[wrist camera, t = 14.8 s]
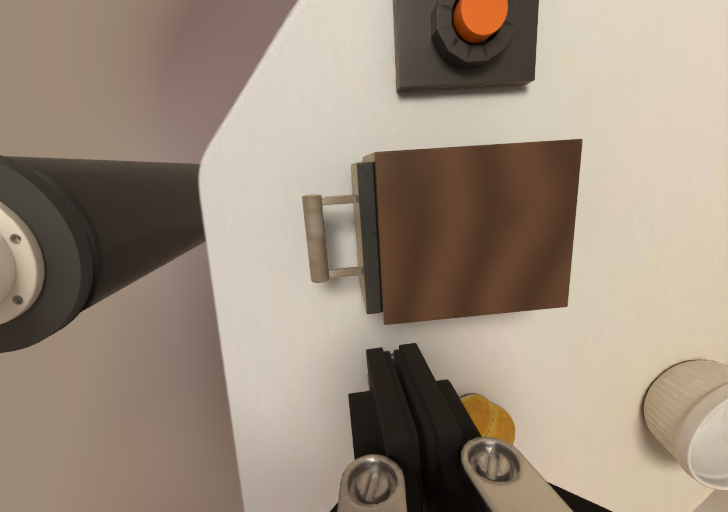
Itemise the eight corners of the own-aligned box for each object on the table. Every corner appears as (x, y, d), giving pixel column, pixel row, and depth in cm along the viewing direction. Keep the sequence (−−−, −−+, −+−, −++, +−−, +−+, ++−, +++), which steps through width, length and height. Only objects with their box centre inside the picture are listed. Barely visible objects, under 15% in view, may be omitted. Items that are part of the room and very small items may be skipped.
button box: (396, 91, 31) (404, 82, 28) (392, -26, 29) (399, -51, 25) (524, 85, 32) (547, 74, 28) (529, -29, 30) (555, -55, 26)
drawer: (316, 286, 34) (311, 319, 26) (304, 167, 31) (294, 166, 23) (490, 270, 35) (533, 298, 28) (494, 154, 32) (543, 150, 25)
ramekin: (664, 460, 45) (723, 511, 38) (611, 401, 42) (665, 446, 35) (750, 394, 43) (827, 436, 36) (701, 328, 40) (775, 360, 33)
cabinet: (370, 284, 35) (384, 325, 26) (362, 157, 32) (374, 152, 23) (508, 271, 36) (567, 307, 27) (513, 147, 33) (583, 138, 24)
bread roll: (460, 380, 39) (474, 403, 35) (517, 414, 41) (537, 439, 37) (417, 433, 40) (426, 461, 36) (475, 464, 42) (489, 493, 38)
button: (453, 44, 28) (461, 36, 26) (453, -8, 27) (461, -20, 25) (496, 42, 28) (507, 34, 26) (498, -9, 27) (509, -21, 25)
